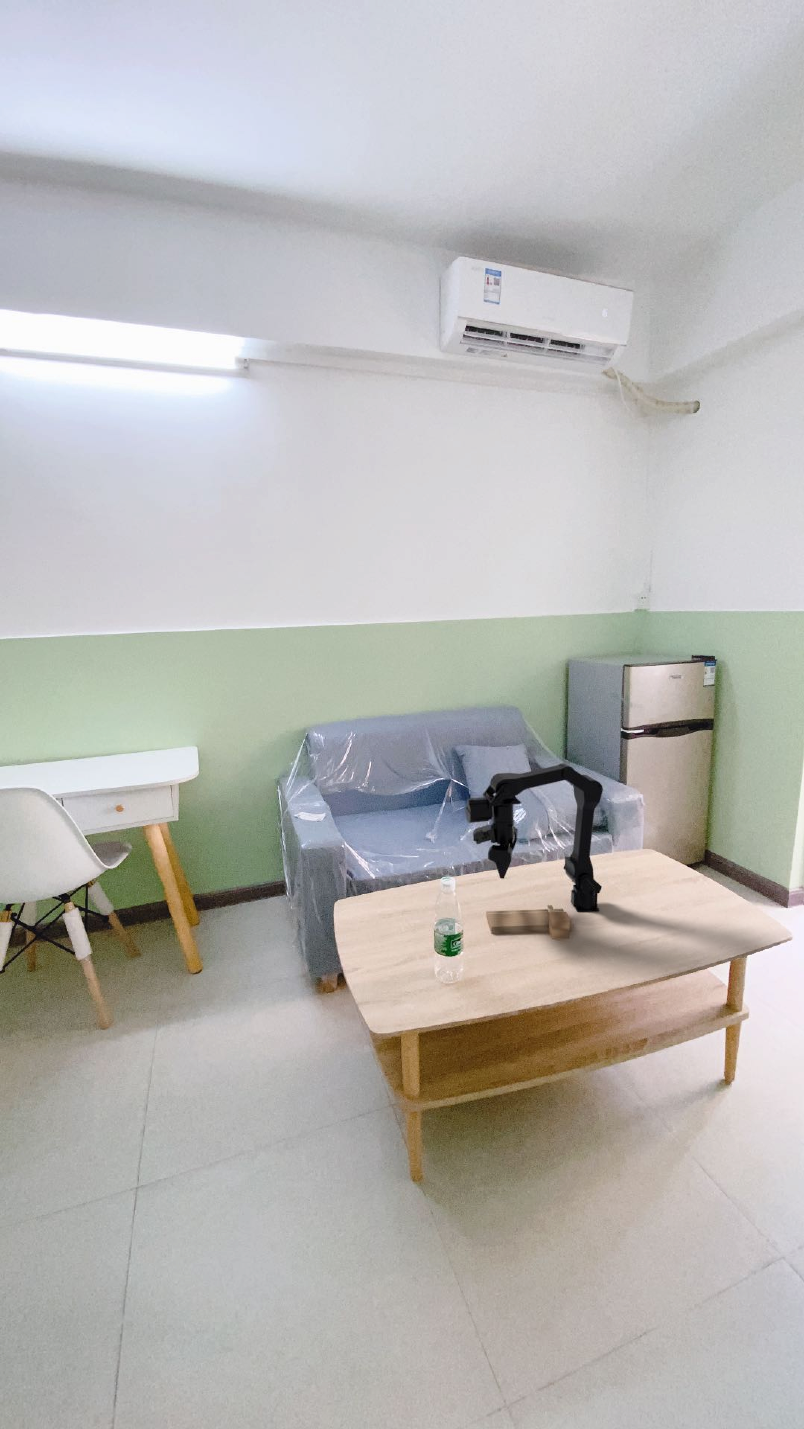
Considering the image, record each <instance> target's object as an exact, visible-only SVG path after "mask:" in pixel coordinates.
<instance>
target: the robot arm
mask: <svg viewBox="0 0 804 1429" xmlns="http://www.w3.org/2000/svg"><path fill="white" fill-rule="evenodd" d="M563 781H567V782H569V783H570V784H571V785H573V787H572V788H573V795H574V799H575V802H576V814H575V815H576V816H575V826H574V827H575V828H574V838H573V847H572V853H571V854H570V856H567V855H565V856H564V866H563V868H562V869H563V870H564V871H565V874H566V876H567V877H568V878H569V880H571V882H572V883H574V884H573V886H572V889H571V891H570V895H571V896H570V899H571V900H570V903H571V905H572V906H573V908H574V909H575V911H576V912H577V913H590V912H591V913H593V912H597V913H598V912H600V908H599V907H598V896H599V895H598V894H600V893H601V891H602V887H603V886H602V885H601V884H600V883H599V882H597V881H596V880H595V876H594V867H593V864H592V860H591V848H592V840H593V839H592V837H593V828H594V818H595V810H596V808H597V806H598V805H599V803H600V802H601V800H602V799H601V798H602V795H603V791H604V786H603V785H602V783H601V782H600V781H598V780H597V779H594V778H593V777H592V776H589V775H588V774H581V773H580V772H578V771H577V770H575V769H574V768H573V767H572V766H570V765H569V764H567V763H564V762H563V763H559V764H557V765H552V766H549V767H544V768H539V769H535V770H531V771H527V772H522V773H521V772H520V773H514V772H504V773H502V772H501V773H499V772H498V773H496V774H494V775H493V776H492V778H491V779H490V782H489V785H488V787H487V788H486V790H485V791H484V792H483V794H482V796H483V797H482V796H481V797H468V798H467V800H466V801H467V802H466V804H465V808H464V810H465V817H466V818H465V819H466V821H467V823H468V824H474V823H482V822H483V823H484V822H489V821H490V820H492V824H487V825H483V826H480V827H476V828H474V829H473V833H472V837H473V838H472V839H473V841H474V842H475V843H476V845H481V844H482V843H485V842H489V841H490V844H492V845H491V846H489V849H488V851H487V859H488V860H489V861H491V862H493V863H494V864H495V866H496V870H497V872H498V876H499V878H500V879H503V880H504V879H505V877H506V874H507V872H508V869H509V868H510V865H511V862H512V860H513V852H514V850H515V847H516V844H517V840H518V837H519V836H518V834H519V830H518V828H516V827H515V826H514V825H515V820H514V805H520V804H521V803H522V801H521V800H520V799H518V798H517V796H518V795H520V794H521V793H522V792H524V791H525V790H528V789H532V788H536V787H541V786H545V785H546V786H547V785H550V784H554V783H558V782H563Z"/></svg>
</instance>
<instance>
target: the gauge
mask: <svg viewBox="0 0 804 1429" xmlns="http://www.w3.org/2000/svg"><path fill="white" fill-rule="evenodd" d="M547 909H548V911H549V913H550V915H549V932H548V933H549V935H550V937H551V939H552V940H553V939H555V940H557V939H558V940H559V939H569V938H570V931H569V924H570V922H571V918H570V915H569V914H568V912H567V911H564V912H555V911H554V909H555V908H554V907H553V905H551V904H550V905H549V904H548V905H547Z"/></svg>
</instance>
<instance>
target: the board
mask: <svg viewBox="0 0 804 1429" xmlns="http://www.w3.org/2000/svg"><path fill="white" fill-rule="evenodd" d="M553 909H554V911H555V912H565V910H564V908H553ZM549 915H550V913H549V911H548V908H544V909H543V908H542V909H518V910H516V909H514V910H490V911H487V910H486V916H485V917H486V920H487V924H488V927H489V931H490V933H491V934H493V935H494V934H513V933H514V934H516V933H517V934H518V933H541V932H542V933H545V932H547V933H549ZM572 925H573V924H572V922H571V921H570V924H569V932H572V931H573V930H572V929H573V926H572Z"/></svg>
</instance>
